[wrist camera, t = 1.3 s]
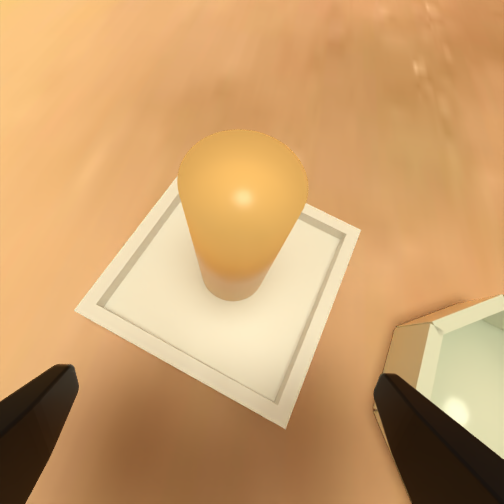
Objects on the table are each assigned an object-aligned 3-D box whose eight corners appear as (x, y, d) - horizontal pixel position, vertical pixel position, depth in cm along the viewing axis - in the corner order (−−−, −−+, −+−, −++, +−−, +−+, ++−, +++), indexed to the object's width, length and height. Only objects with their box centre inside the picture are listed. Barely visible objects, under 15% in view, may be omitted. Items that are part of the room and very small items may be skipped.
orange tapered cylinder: (246, 312, 20) (275, 264, 9) (189, 282, 20) (149, 200, 9) (273, 258, 22) (326, 162, 11) (221, 231, 22) (219, 111, 11)
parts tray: (279, 421, 18) (285, 429, 17) (87, 314, 20) (73, 310, 18) (350, 239, 24) (360, 230, 22) (199, 165, 25) (197, 150, 24)
